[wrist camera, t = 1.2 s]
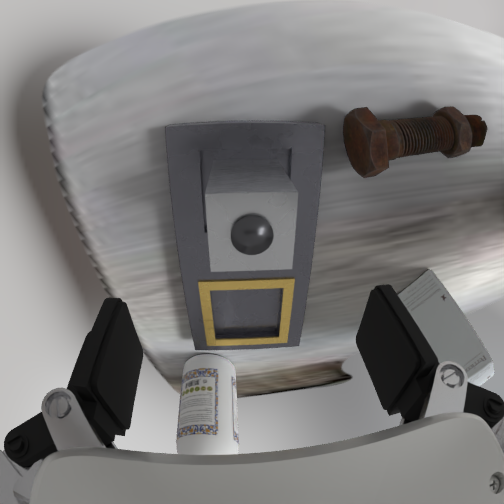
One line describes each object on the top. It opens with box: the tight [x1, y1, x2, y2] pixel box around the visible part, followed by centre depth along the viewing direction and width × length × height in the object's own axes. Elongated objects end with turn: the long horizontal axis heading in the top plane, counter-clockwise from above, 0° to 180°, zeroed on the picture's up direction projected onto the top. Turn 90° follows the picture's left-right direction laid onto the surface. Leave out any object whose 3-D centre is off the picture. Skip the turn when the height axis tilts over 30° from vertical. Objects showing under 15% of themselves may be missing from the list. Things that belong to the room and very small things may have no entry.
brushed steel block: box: [205, 159, 298, 272], centre depth 20 cm, size 5×5×8 cm
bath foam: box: [176, 354, 239, 455], centre depth 28 cm, size 7×7×20 cm
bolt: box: [343, 107, 487, 178], centre depth 20 cm, size 6×5×15 cm
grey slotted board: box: [165, 121, 325, 350], centre depth 27 cm, size 12×24×2 cm, turn 0°
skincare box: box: [398, 269, 494, 386], centre depth 27 cm, size 8×6×15 cm
